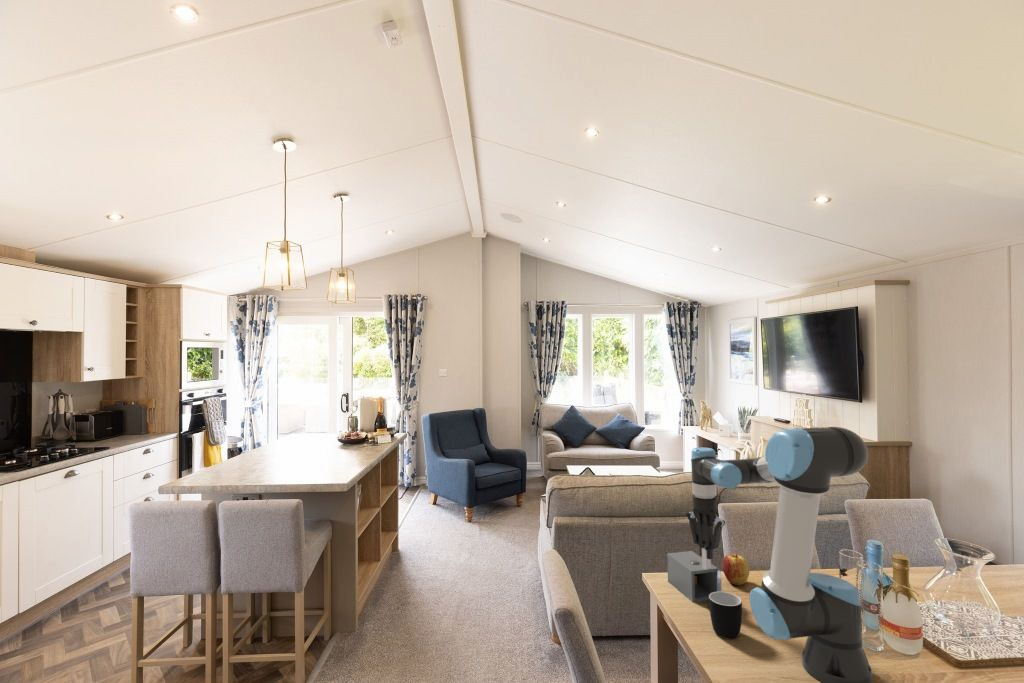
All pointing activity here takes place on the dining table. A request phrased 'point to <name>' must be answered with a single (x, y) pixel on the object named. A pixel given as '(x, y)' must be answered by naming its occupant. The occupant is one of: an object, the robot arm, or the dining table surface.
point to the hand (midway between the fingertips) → (706, 567)
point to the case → (691, 575)
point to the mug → (725, 614)
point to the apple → (735, 569)
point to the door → (719, 581)
